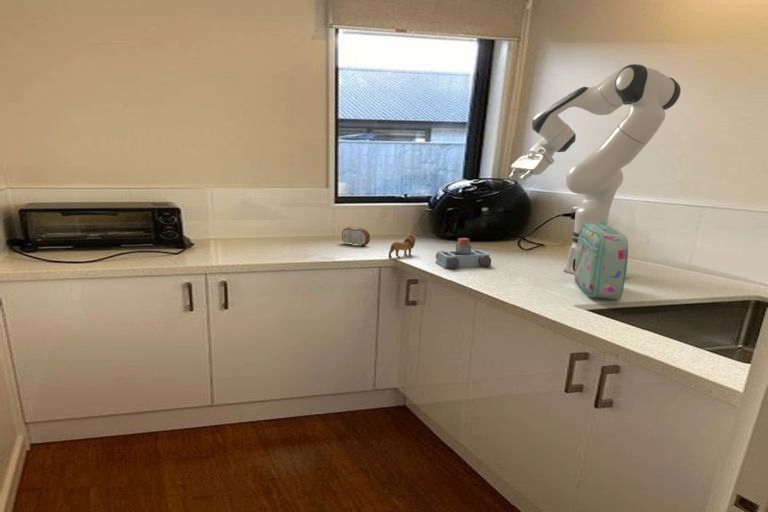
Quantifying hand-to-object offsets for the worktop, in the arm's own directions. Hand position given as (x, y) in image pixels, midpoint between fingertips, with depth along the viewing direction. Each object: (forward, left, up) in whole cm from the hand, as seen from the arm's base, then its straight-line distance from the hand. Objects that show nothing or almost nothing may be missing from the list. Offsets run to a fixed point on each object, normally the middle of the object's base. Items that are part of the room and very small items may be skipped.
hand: (515, 179), depth 199 cm
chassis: (-14, +28, -32) cm, 45 cm away
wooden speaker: (+36, +62, -32) cm, 79 cm away
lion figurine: (+7, +47, -32) cm, 58 cm away
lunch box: (-59, +2, -32) cm, 67 cm away
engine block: (-14, +28, -31) cm, 44 cm away
